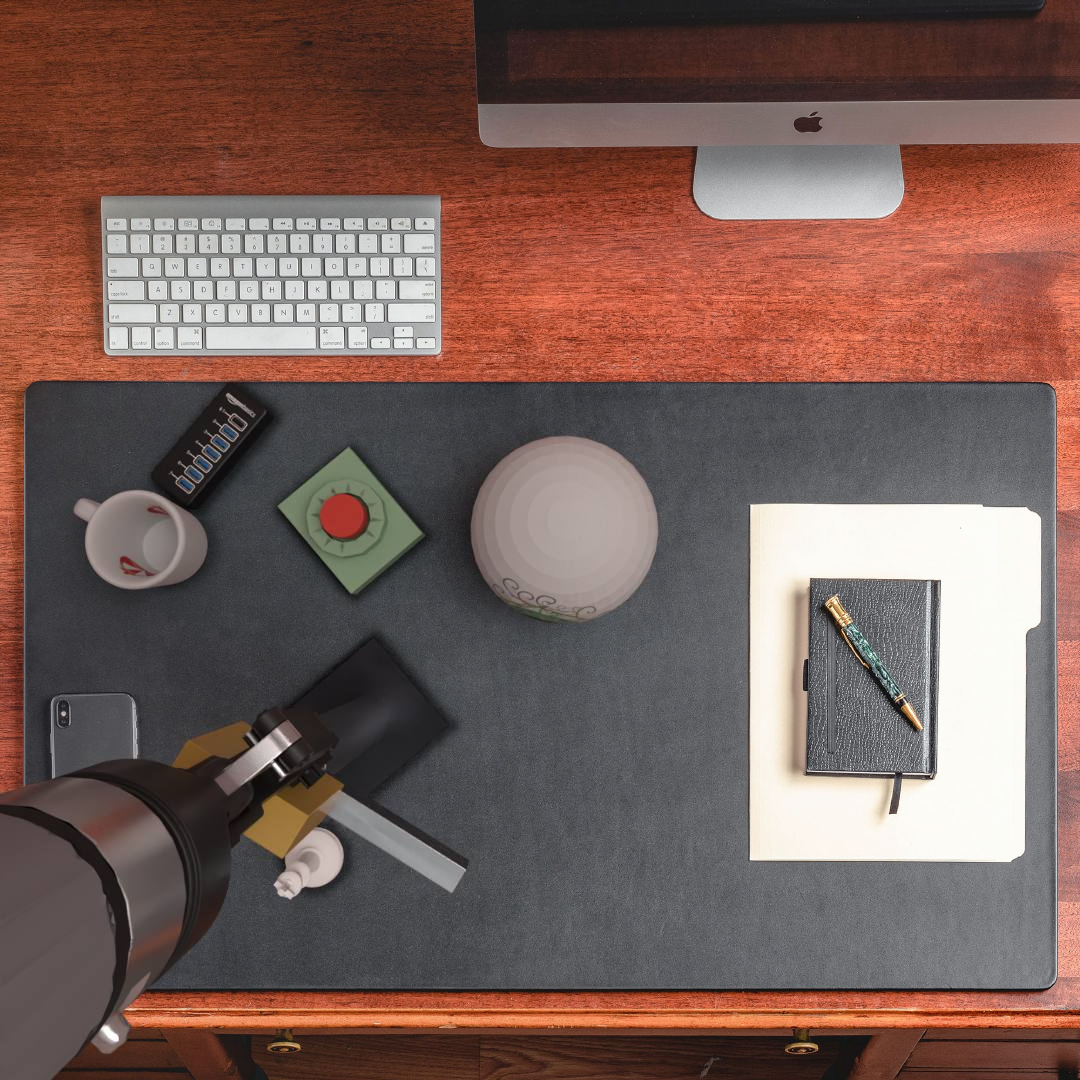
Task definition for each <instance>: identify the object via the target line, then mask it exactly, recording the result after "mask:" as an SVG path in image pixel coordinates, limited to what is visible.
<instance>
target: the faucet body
mask: <svg viewBox="0 0 1080 1080" xmlns="http://www.w3.org/2000/svg"><path fill="white" fill-rule="evenodd" d="M306 704H310V706H311V707H312V708H313V709H314V710H315V711H316V712H317V714H318V715H319V716H320V717H321V718H322V720H323V721H324V722H325V723H326V724H327V725H328V727H329V728H330V729H331V730H332V731H333V732H334V734H335V735H336V736H337V737H338V739H339V740H340V741H339V742H338V745H336V748H335V749H334V750H333V751H332V752H331V753H329V754H330V755H331V756H332V757H333V758H332V759H331V760H330V761H329V762H328V763H326V764H325V765H324V766H323V767H322V768H323V769H325V770H326V771H328V772H329V773H331V774H333V775H334V776H336V777H337V778H339V779H341V780H342V781H344V782H345V783H347V784H349V785H350V786H352V787H353V788H355V789H357V790H358V791H360V792H361V793H363V794H364V795H366V796H368V797H369V796H370V795H371V794H372V793H374V791H375V790H376V789H378V788H379V787H380V786H381V785H383V784H384V783H385V782H386V781H387V780H389V778H390V777H392V776H393V775H394V774H395V773H396V772H397V771H399V770H400V769H401V768H402V767H403V766H405V764H407V763H408V762H409V761H411V759H413V757H415V756H416V755H417V754H418V753H419V752H421V751H422V750H423V749H424V748H425V747H426V746H428V744H430V743H431V742H432V741H434V740H435V739H436V738H437V737H438V736H439V735H440V734H442V733H443V732H444V731H445V730H446V729H447V728H449V726H450V723H449V721H448V720H447V719H446V718H445V717H444V715H443V714H442V713H441V712H440V710H439V709H438V708H437V707H436V705H434V703H432V702H431V699H429V697H428V696H427V695H426V694H425V693H424V692H423V691H422V689H421V687H419V686H418V685H417V683H416V682H415V681H414V680H413V679H412V677H411V676H410V675H409V673H407V671H406V670H405V669H404V668H403V667H402V665H400V663H399V661H398V660H396V658H395V657H394V656H393V655H392V654H391V653H390V651H389V650H388V649H387V648H386V646H385V645H384V644H383V643H382V642H381V640H380V639H379V638H378V637H377V636H374V637H372V638H370V639H369V640H368V641H367V642H366V643H365V644H363V646H361V647H360V648H359V649H358V650H356V652H353V654H351V656H349V657H348V658H347V659H346V660H345V661H343V663H341V664H340V665H338V667H336V668H335V669H334V670H333V671H332V672H331V673H329V674H328V675H327V676H326V677H325V678H323V679H322V680H321V681H320V682H318V684H316V686H314V687H313V688H311V690H309V691H308V692H307V693H305V694H304V695H303V696H302V697H301V698H300V699H299V700H298V701H296V702H295V703H294V704H293V705H292V706H291V707H290V708H294V707H298V706H302V705H306Z"/></svg>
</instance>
